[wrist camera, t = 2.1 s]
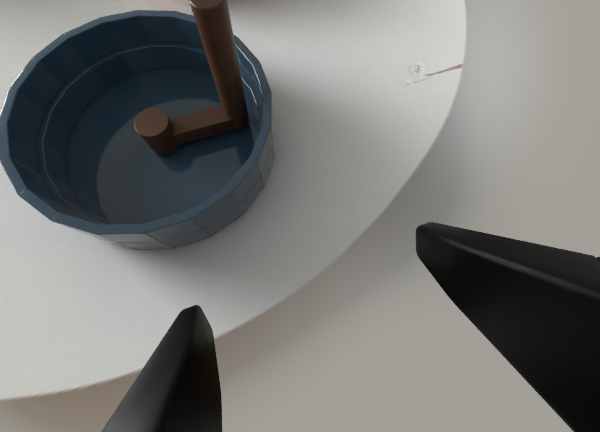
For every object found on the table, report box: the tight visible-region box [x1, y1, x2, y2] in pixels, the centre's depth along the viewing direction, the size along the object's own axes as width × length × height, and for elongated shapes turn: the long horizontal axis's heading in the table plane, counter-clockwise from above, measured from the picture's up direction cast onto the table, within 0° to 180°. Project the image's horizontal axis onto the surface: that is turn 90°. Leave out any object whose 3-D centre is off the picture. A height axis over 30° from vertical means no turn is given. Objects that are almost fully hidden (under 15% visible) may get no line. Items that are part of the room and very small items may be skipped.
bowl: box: [0, 10, 274, 249], centre depth 21 cm, size 17×17×5 cm
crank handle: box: [134, 0, 249, 155], centre depth 18 cm, size 2×8×10 cm, turn 110°
